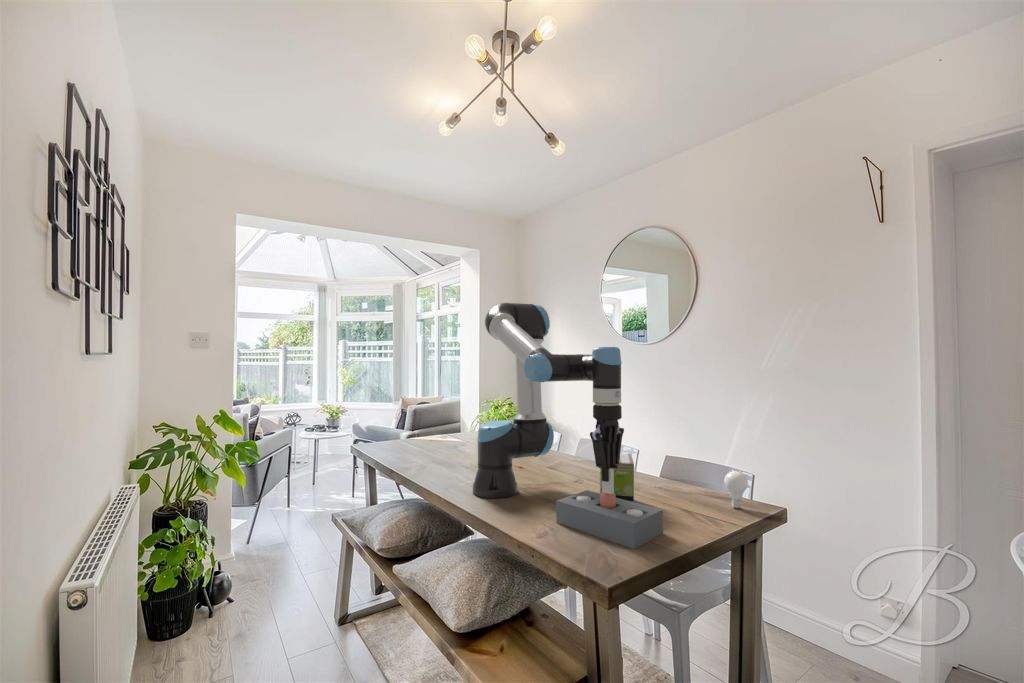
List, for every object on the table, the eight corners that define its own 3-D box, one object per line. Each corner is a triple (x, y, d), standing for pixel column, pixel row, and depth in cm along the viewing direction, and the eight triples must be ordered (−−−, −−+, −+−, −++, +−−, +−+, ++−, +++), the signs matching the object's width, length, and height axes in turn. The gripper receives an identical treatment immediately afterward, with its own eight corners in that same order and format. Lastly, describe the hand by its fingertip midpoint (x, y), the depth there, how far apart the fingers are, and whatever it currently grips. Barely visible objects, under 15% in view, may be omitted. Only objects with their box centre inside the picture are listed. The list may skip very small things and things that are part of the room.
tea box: (635, 514, 131) (634, 462, 132) (599, 511, 133) (599, 461, 134) (631, 498, 146) (631, 452, 146) (600, 496, 148) (599, 450, 148)
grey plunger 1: (573, 517, 126) (573, 497, 127) (582, 514, 129) (582, 494, 129) (585, 521, 123) (585, 501, 124) (593, 517, 126) (593, 497, 126)
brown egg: (597, 514, 121) (597, 493, 121) (605, 510, 123) (605, 490, 124) (610, 518, 118) (609, 496, 118) (618, 514, 121) (618, 493, 121)
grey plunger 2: (623, 533, 115) (623, 511, 115) (632, 529, 118) (631, 508, 118) (637, 538, 112) (637, 515, 112) (645, 533, 115) (645, 511, 115)
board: (556, 522, 124) (556, 500, 124) (587, 510, 134) (587, 490, 134) (634, 549, 107) (634, 523, 107) (662, 533, 117) (662, 509, 117)
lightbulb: (720, 506, 138) (719, 470, 138) (733, 503, 140) (733, 467, 141) (739, 513, 132) (738, 474, 132) (753, 509, 135) (752, 472, 135)
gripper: (604, 406, 114) (605, 501, 114) (632, 403, 124) (633, 490, 123) (581, 404, 120) (581, 495, 119) (609, 401, 129) (609, 485, 128)
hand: (608, 492), depth 121 cm, fingers closed
